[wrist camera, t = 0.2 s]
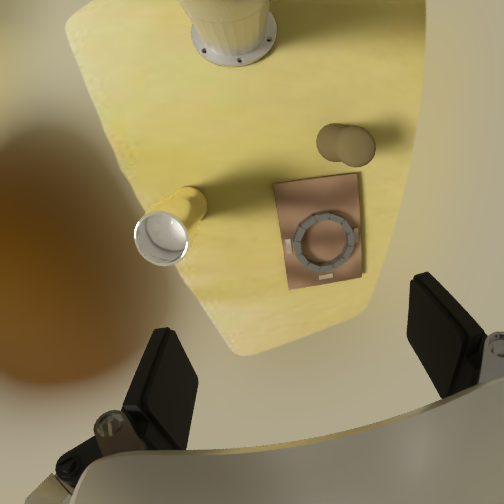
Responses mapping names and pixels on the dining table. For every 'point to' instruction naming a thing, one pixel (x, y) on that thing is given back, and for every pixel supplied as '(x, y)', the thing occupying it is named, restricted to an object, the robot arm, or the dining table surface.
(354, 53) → the dining table surface
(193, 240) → the beer glass
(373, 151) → the cork
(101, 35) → the dining table surface
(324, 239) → the board
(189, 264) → the dining table surface
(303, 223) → the hub ring
